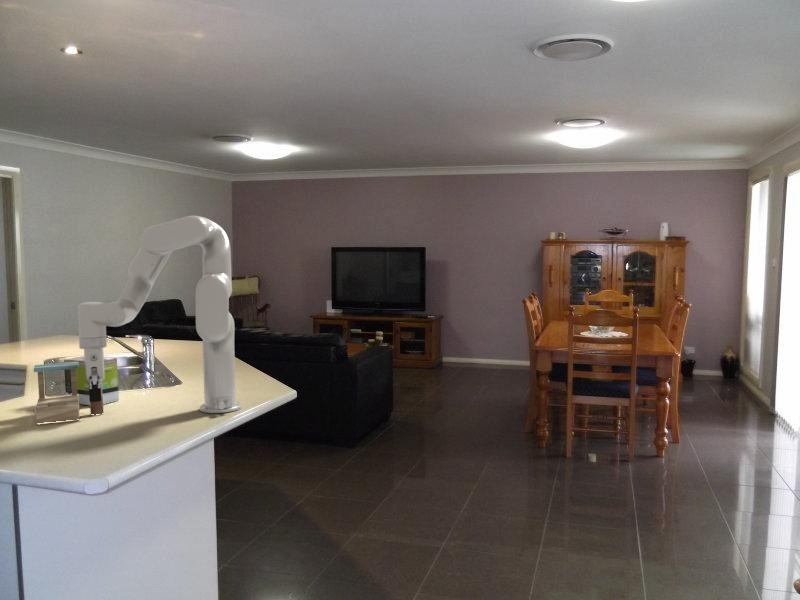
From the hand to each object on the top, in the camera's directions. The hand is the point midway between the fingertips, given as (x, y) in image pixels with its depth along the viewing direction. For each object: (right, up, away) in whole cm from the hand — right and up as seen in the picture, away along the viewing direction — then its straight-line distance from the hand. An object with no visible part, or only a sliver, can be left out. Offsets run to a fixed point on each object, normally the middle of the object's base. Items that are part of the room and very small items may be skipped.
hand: (95, 398), depth 203 cm
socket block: (-10, -5, -2) cm, 12 cm away
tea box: (-9, -4, +18) cm, 21 cm away
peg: (0, -5, 0) cm, 5 cm away
